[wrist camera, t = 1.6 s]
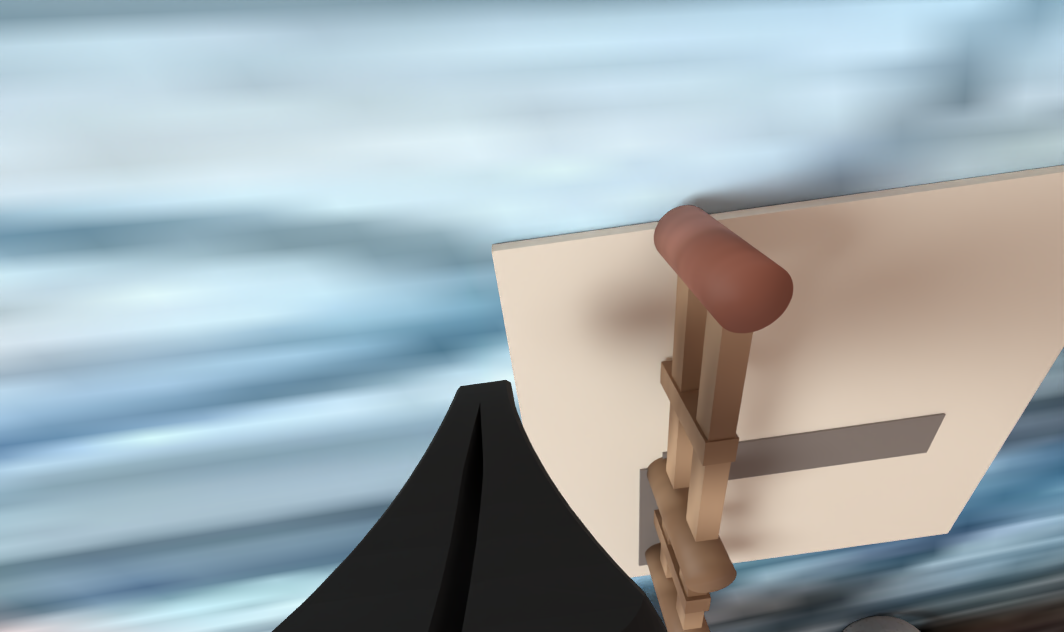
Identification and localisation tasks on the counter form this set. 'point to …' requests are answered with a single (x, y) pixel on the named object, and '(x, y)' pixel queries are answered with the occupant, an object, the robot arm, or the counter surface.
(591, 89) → the counter surface
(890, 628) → the ceramic mug
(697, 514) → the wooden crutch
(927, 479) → the card
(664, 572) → the frame
